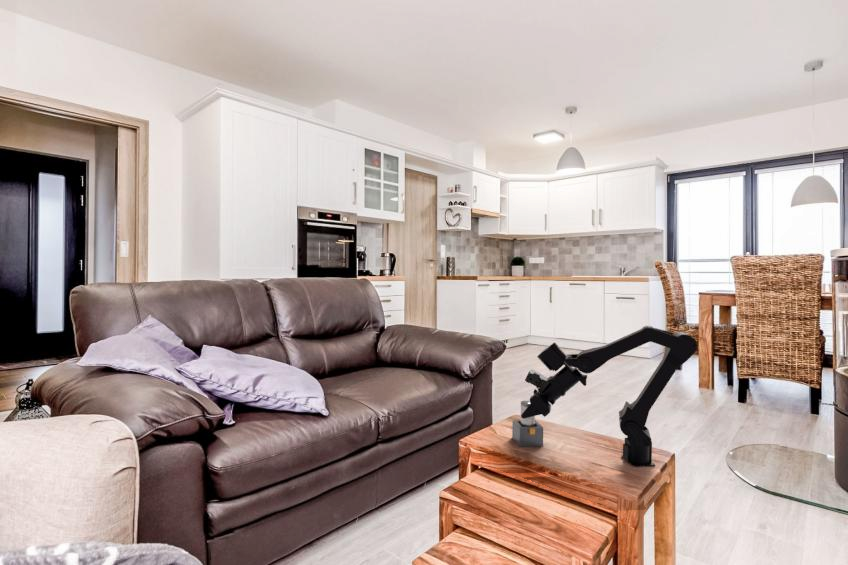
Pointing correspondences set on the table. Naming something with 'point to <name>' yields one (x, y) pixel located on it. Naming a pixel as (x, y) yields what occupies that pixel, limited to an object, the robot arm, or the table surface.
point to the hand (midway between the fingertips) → (523, 414)
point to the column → (530, 420)
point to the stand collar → (527, 434)
